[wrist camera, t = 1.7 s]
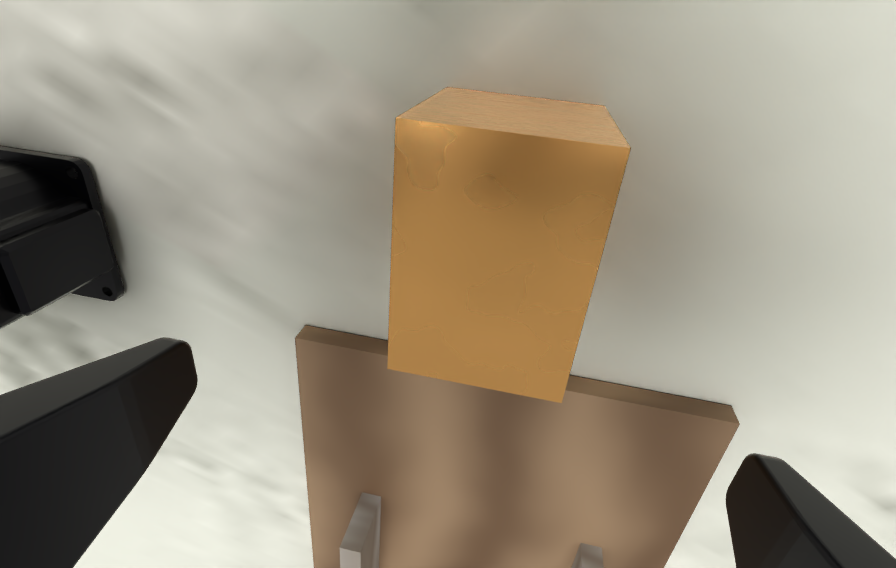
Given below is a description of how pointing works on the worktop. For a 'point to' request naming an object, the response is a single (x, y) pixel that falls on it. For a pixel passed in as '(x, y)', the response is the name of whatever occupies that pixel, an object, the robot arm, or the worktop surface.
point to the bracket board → (494, 466)
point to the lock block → (498, 236)
